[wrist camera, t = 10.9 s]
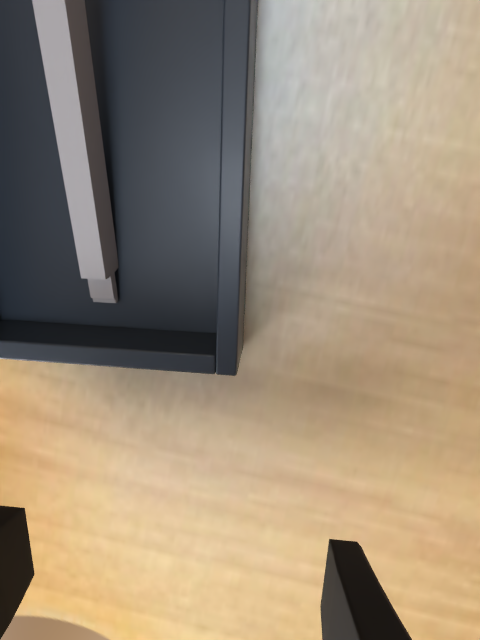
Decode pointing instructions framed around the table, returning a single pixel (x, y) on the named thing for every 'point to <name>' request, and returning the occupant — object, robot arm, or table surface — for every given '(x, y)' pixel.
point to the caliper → (79, 139)
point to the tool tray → (133, 188)
